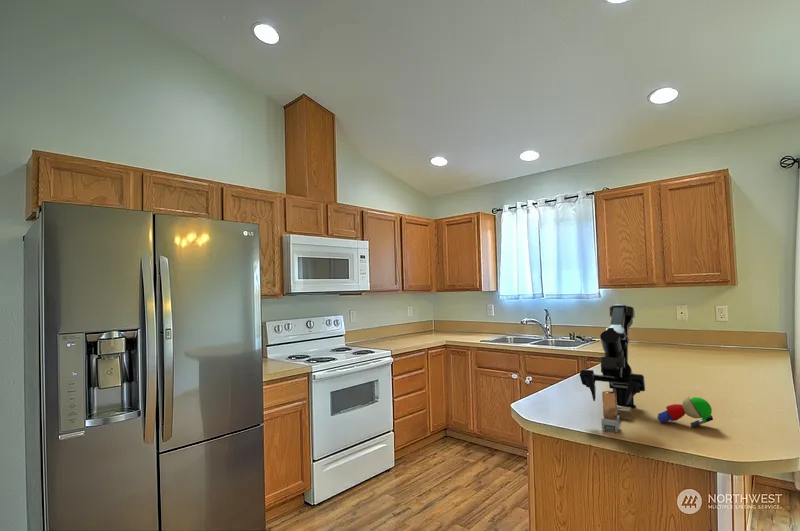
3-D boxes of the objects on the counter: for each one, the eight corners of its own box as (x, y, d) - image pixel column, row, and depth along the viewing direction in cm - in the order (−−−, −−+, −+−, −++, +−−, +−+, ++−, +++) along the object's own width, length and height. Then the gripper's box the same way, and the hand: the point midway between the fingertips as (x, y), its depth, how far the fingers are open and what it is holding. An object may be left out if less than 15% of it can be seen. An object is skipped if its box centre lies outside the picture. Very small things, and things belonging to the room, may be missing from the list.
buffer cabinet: (606, 412, 149) (605, 403, 149) (631, 416, 145) (631, 406, 145) (603, 416, 145) (603, 406, 145) (630, 420, 141) (629, 409, 141)
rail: (612, 418, 143) (612, 413, 143) (620, 419, 142) (620, 414, 142) (605, 430, 131) (605, 425, 131) (614, 432, 129) (614, 427, 129)
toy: (669, 437, 133) (719, 419, 127) (654, 414, 136) (701, 395, 129) (670, 429, 141) (716, 412, 134) (655, 407, 143) (700, 389, 137)
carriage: (604, 425, 135) (602, 390, 136) (619, 427, 133) (618, 391, 133) (602, 429, 131) (600, 393, 132) (617, 432, 128) (615, 395, 129)
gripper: (579, 345, 143) (573, 384, 133) (642, 348, 132) (641, 391, 123) (585, 365, 149) (579, 403, 139) (645, 370, 138) (644, 412, 129)
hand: (609, 402), depth 132 cm, fingers open, 9 cm apart
